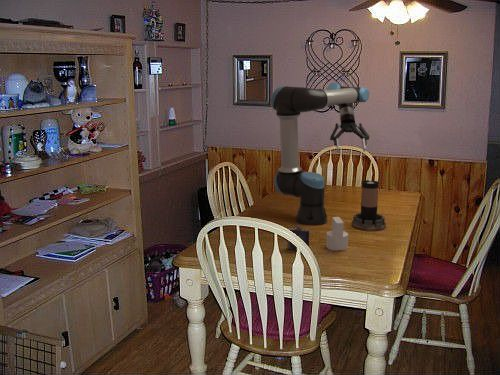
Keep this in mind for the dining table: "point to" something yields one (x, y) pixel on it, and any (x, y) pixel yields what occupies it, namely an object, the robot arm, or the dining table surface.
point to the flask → (301, 233)
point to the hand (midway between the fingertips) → (351, 150)
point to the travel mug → (369, 201)
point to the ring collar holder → (369, 223)
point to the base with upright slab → (337, 236)
